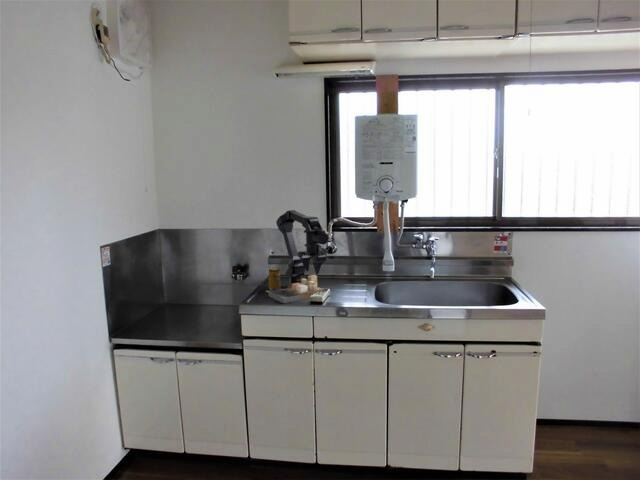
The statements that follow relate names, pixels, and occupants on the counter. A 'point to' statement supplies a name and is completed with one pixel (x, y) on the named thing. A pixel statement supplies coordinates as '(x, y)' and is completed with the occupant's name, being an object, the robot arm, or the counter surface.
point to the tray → (284, 296)
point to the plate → (305, 294)
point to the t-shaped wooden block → (310, 282)
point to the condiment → (274, 280)
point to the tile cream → (302, 288)
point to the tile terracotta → (295, 285)
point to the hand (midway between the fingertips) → (312, 272)
